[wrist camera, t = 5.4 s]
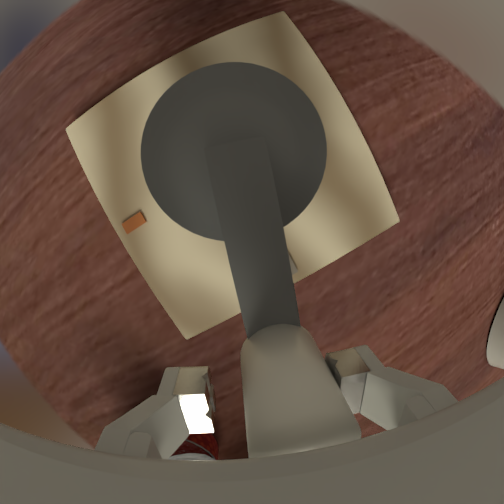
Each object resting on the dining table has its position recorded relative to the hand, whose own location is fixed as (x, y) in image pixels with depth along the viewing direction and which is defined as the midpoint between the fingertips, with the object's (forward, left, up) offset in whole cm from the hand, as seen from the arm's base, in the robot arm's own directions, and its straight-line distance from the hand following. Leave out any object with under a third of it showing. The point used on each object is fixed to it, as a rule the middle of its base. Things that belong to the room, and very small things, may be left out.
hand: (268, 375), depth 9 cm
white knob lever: (-2, -4, -5) cm, 7 cm away
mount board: (-3, -7, -12) cm, 14 cm away
